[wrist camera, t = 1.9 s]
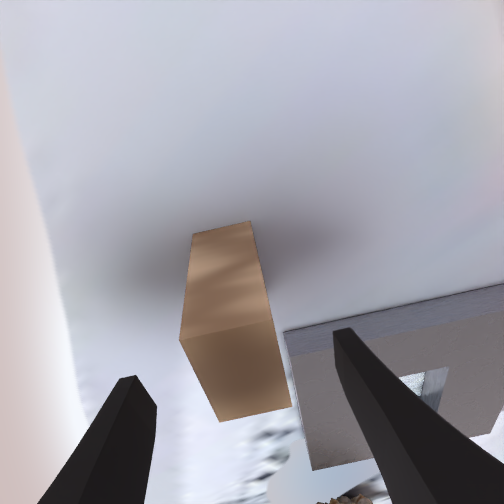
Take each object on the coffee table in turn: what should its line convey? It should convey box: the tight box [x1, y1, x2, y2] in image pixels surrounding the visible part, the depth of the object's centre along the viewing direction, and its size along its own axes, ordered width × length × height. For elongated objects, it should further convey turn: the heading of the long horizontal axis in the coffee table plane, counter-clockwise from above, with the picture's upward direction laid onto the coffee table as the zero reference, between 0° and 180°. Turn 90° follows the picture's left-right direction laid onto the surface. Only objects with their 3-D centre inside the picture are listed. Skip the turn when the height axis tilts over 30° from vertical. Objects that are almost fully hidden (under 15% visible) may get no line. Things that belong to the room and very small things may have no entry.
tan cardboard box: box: [179, 221, 292, 422], centre depth 14 cm, size 3×5×7 cm, turn 11°
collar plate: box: [283, 284, 504, 471], centre depth 23 cm, size 16×16×2 cm
